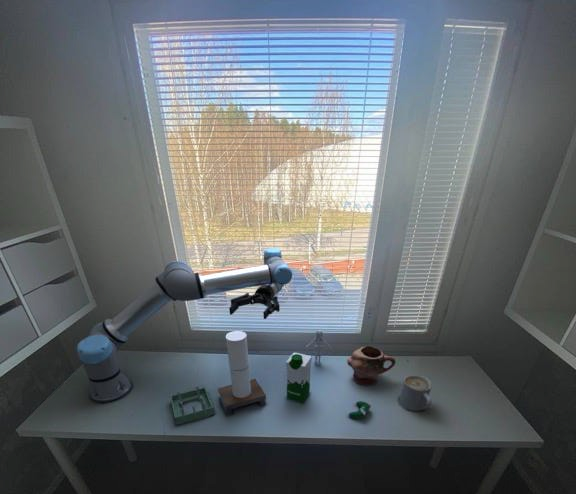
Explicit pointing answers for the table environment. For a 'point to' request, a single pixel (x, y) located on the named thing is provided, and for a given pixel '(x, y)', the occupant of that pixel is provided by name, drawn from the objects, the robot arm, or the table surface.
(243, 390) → the cylindrical container
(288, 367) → the milk carton
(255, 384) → the brown slab
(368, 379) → the clay jug
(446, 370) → the table surface
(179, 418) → the drying rack
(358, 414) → the green curved piece
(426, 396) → the coffee mug
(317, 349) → the human figurine
